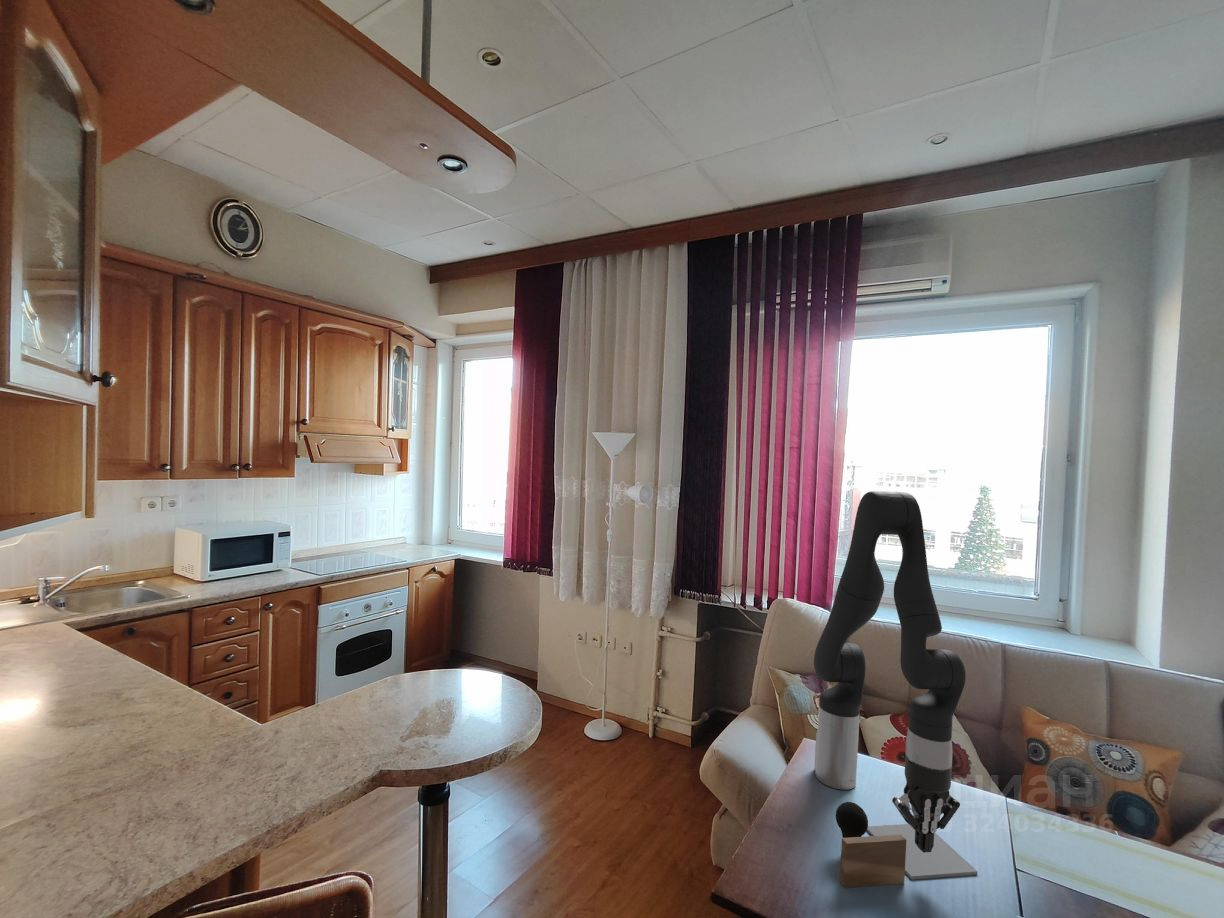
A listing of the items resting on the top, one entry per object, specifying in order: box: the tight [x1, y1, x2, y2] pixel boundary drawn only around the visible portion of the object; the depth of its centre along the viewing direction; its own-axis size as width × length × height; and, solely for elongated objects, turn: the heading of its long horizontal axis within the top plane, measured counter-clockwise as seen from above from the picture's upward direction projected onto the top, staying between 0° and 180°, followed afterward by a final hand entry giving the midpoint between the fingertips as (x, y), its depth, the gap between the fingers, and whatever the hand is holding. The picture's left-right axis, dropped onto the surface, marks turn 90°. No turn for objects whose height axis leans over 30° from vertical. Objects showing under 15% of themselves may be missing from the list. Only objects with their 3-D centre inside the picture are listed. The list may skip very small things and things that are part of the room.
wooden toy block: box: [839, 834, 906, 889], centre depth 102 cm, size 2×12×8 cm, turn 99°
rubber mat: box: [866, 823, 978, 880], centre depth 111 cm, size 14×14×1 cm
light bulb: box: [835, 801, 869, 838], centre depth 109 cm, size 6×6×10 cm
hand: (923, 849), depth 103 cm, fingers closed
